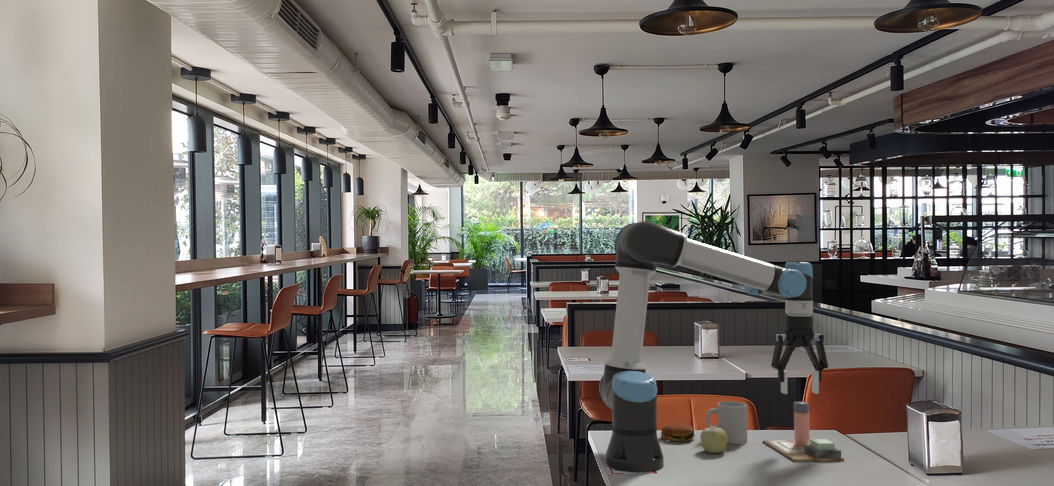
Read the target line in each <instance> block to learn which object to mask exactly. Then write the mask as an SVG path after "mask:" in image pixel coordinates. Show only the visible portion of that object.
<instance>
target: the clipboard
mask: <svg viewBox="0 0 1054 486" xmlns="http://www.w3.org/2000/svg"><path fill="white" fill-rule="evenodd" d="M763 442H765V443H766V444H767V445H766V444H765V443H764V444H765V445H766V446H768V445H769V446H770V448H771V447H772V448H771V449H773V448H774V449H775V450H774V449H773V450H774V451H776V450H777V451H778V453H779V452H780V453H779V454H781V455H783V456H784V457H786V458H787V459H789V460H791V461H792V462H796V463H797V462H834V461H835V462H836V461H837V460H844V461H845V458H844V457H843V456H842V450H841V449H839V448H837V447H836V446H835V450H817V449H815V448H813V447H811V446H810V444H804V447H800V446H796V445H795V439H780V440H779V439H775V440H770V439H769V440H768V439H767V440H762V443H763ZM769 446H768V447H769ZM777 451H776V452H777ZM837 462H838V461H837Z"/></svg>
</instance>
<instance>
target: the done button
mask: <svg viewBox="0 0 1054 486" xmlns="http://www.w3.org/2000/svg"><path fill="white" fill-rule="evenodd" d="M835 445H836V444H835V442H832V441H831V440H828V439H826V438H817V439H816V438H815V439H814V438H813V439H811V438H810V446H811V447H813V448H815V449H817V450H835V447H836V446H835Z"/></svg>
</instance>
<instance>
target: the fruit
mask: <svg viewBox="0 0 1054 486" xmlns="http://www.w3.org/2000/svg"><path fill="white" fill-rule="evenodd" d="M712 426H713V427H709V428H707V427H706V428H704V429H703V430H702V431H701V434H700V443H701V446H702V448H703V449H704V450H705V451H706V452H707V453H709V454H716V453H717V454H718V453H721V452H724V451H725V450H726V448H727V446H728V444H727V441H728V439H727V434H726V432H725V431H724V430H723V429H721V428H717V427H714V426H716V423H714V424H712Z"/></svg>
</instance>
